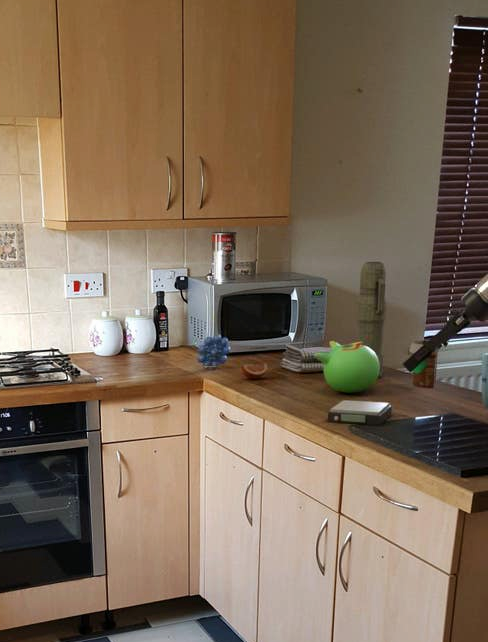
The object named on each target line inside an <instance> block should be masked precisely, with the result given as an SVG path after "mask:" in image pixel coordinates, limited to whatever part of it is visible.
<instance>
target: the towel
mask: <svg viewBox="0 0 488 642" xmlns="http://www.w3.org/2000/svg"><path fill="white" fill-rule="evenodd" d="M283 348H284V350H285V351H284V352H283V353H282V354H283V356H284V357H283V358H282V359H281V361H282V362H281V363H280V367H281V368H283V369H287V370H289V371H291V372H295V373H298V374H299V373H300V374H301V373H302V374H303V373H305V374H306V373H319V372H324V370H323V369H324V363H323V362H321V361H320V360H318V359H317V358H316V357H315V356H314V355H315V354H316V353H330V352H331V351H332V350H331V347H324V346H316V347H315V346H312V347H301V348H299V347H298V348H297V347H296V346H294V345H291V344H288V343H285V345H284V346H283ZM281 364H284V365H281ZM285 365H287V366H285Z"/></svg>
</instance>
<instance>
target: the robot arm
mask: <svg viewBox="0 0 488 642" xmlns="http://www.w3.org/2000/svg"><path fill="white" fill-rule="evenodd" d="M460 300H461V303H462V305H463V306H464V307H465V309H464V310H463V311H461V310H458V311H457V312H455V313H454V314H453V315H452V317H451V318H450V319H449V320H447V322H446V323H445V324H444V327H442V328H441V329H440V330H439V331H438V332H437V333H435V334H434V335H432V337H431V338H430V339H428V340H429V341H427V342H426V341H425V340H426V339H423V340H424V341H423V342H422V343H423V344H424V345H423V346H422V347H421V348H420V349H418V350H417V351H416V352H415V353H414V354H413V353H412V355H410V356H409V357H408V358H407V359H406V360H405V361H404V362H403V363H402V366H403V367H404V368H405V369H406V370H407V371H408V372H409V373H413V370H414V369H415V368H416V367H417V366H418V365H420V364H421V363H422V362H423V361H424V360H425V359H426V358H427V357H429V356H430V355H431V354H432V352H434V351H435V349H437V348H438V351H439V350H440V349H441V348H442V347H443V346H444V348H446V347H447V346H448V345H449V341H450V340H451V339H452V338H453V337H454V336H456V335H458V334H459V333H461V332H462V331H463V330H465V329H466V328H468V327H469V326H470V325H471V324H472V321H471V320H473V319H474V318H475V319H476V320H477V321H479V322H480V323H485V322H487V321H488V273H487V274H486V275H484V276H483V277H482V278H481V279H480V280H479V281H477V283H476V284H475V287H471V288H470V289H469V290H468V291H467V292H466V293H465V294H464V295H462V297H461V299H460ZM481 396H482V398H481V399H482V405H483V407H484V408H485V409H487V410H488V352H485V353H483V355H482V356H481Z"/></svg>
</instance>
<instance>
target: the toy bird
mask: <svg viewBox="0 0 488 642" xmlns="http://www.w3.org/2000/svg"><path fill="white" fill-rule="evenodd" d="M362 343H363V342H357V341H356V342H352V343H345V344H342V345H341V344H339V343H338V342H336V341H334V340H331V341H329V348H331V350H332V351H331V352H330V353H316V354H315V355H314V356H315V357H316V358H317V359H318V360H320V361H321V362H323V363H324V369H323V370H324V371H323V376H324V379H325V381H326V383H327V384H328V385H329V386H330V387H331V388H332V389H333V390H336V391H337V392H341V393H345V394H353V393H354V394H355V393H359V392H363V391H366V390H367V389H369V388H371V387H372V386H373V385H374V384H375V382H376V381H377V380H378V375H379V371H380V364H379V360H378V357H377V355H376V354H375V352H374V351H373V350H372V349H370V348H369V347H367V346H364V345H361V344H362Z"/></svg>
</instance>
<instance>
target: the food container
mask: <svg viewBox="0 0 488 642" xmlns="http://www.w3.org/2000/svg"><path fill="white" fill-rule="evenodd" d="M424 340H425V341H426V342H427V341H429V340H430V339H418V340H414V341H412V344H411V345H410V348H409V352H410V353H412V355H413V354H414V353H415V352H416V351H417V350H418V349H420V348H421V347H422V346H423V345H424V344H423V343H422V342H423V341H424ZM438 355H439V350H438V348H437V349H435V351H434V352H432V354H431V355H430V356H429V357H427V358H426V359H425V360H424V361H423V362H422V363H421V364H420V365H418V366H417V367H416V368H415V369H414V370H413V371H412V386H413V387H416V388H422V389H434V388H435V385H436V382H437V369H438Z"/></svg>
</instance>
